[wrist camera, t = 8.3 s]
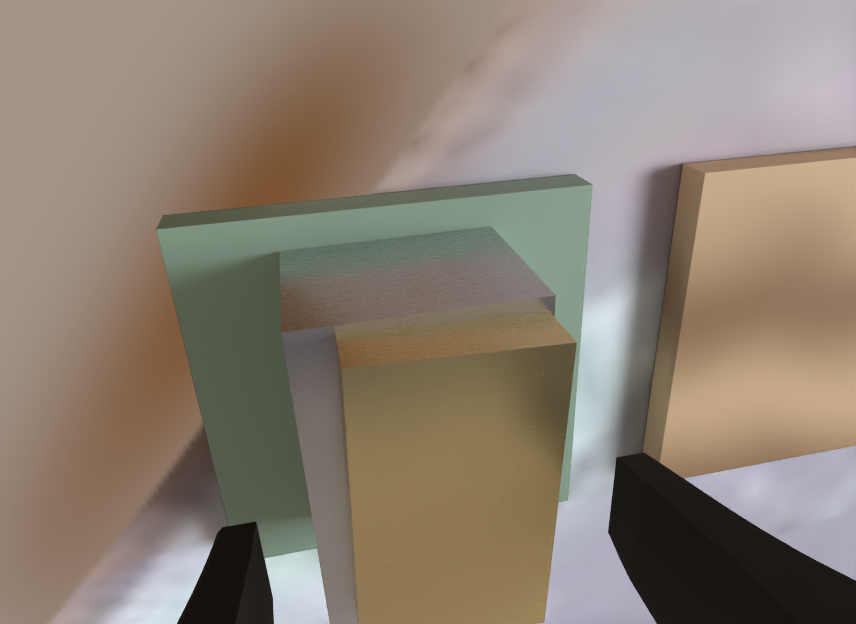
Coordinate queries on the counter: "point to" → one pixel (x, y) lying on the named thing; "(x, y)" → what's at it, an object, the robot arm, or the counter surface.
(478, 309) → the base
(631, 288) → the counter surface
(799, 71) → the counter surface
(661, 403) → the stand
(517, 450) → the cover
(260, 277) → the stand
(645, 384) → the counter surface
